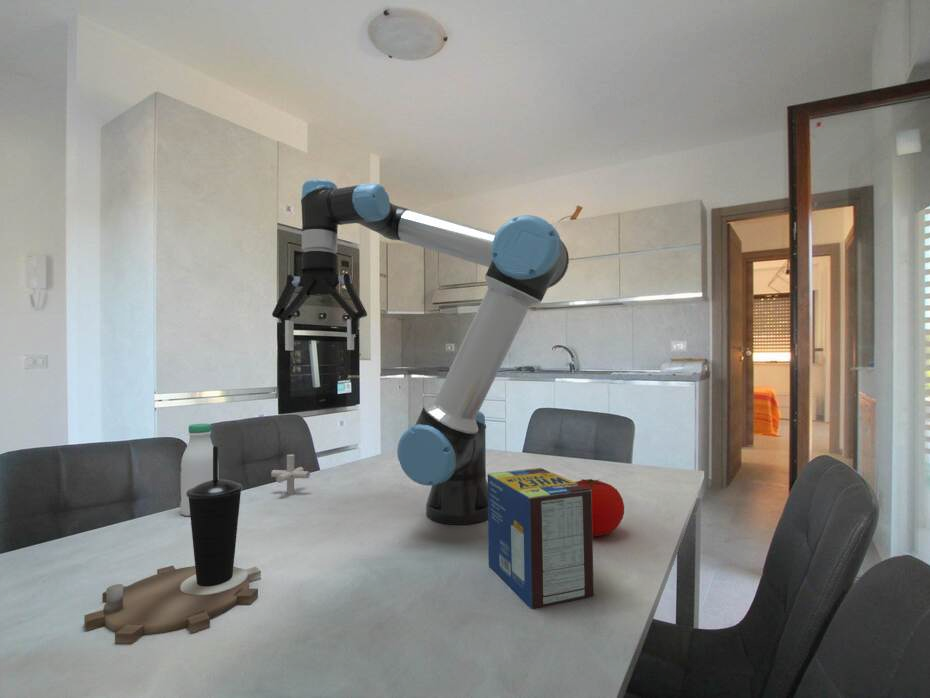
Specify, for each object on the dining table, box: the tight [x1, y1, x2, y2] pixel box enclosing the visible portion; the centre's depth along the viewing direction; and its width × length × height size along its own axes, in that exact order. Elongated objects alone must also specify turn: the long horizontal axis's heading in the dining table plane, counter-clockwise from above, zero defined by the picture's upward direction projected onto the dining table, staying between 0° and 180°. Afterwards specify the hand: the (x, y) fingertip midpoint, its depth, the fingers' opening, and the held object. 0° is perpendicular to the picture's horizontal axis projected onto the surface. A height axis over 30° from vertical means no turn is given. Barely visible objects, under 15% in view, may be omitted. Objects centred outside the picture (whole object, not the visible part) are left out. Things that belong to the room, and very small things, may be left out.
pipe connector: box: [270, 454, 311, 496], centre depth 125 cm, size 10×10×10 cm
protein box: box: [487, 467, 595, 609], centre depth 75 cm, size 10×15×16 cm
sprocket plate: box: [83, 565, 262, 645], centre depth 70 cm, size 22×22×4 cm
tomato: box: [574, 478, 625, 537], centre depth 95 cm, size 12×12×10 cm
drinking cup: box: [186, 445, 244, 586], centre depth 73 cm, size 8×8×20 cm
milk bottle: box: [179, 423, 220, 517], centre depth 111 cm, size 8×8×20 cm
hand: (320, 350), depth 105 cm, fingers open, 13 cm apart
